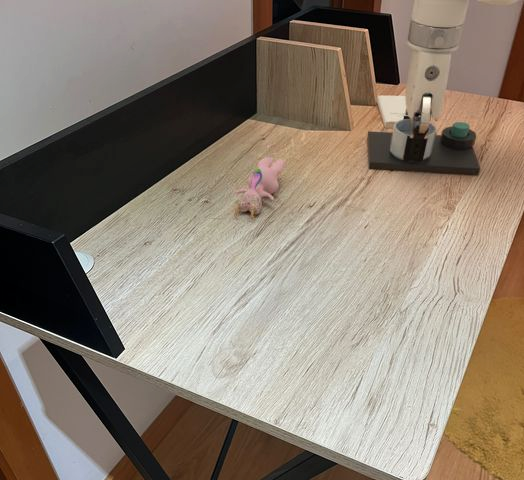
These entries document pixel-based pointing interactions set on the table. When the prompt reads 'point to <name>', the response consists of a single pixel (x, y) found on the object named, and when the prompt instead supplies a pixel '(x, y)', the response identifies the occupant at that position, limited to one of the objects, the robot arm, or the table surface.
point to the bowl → (400, 137)
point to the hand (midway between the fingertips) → (410, 149)
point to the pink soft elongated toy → (260, 186)
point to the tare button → (460, 129)
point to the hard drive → (391, 109)
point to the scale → (440, 161)
